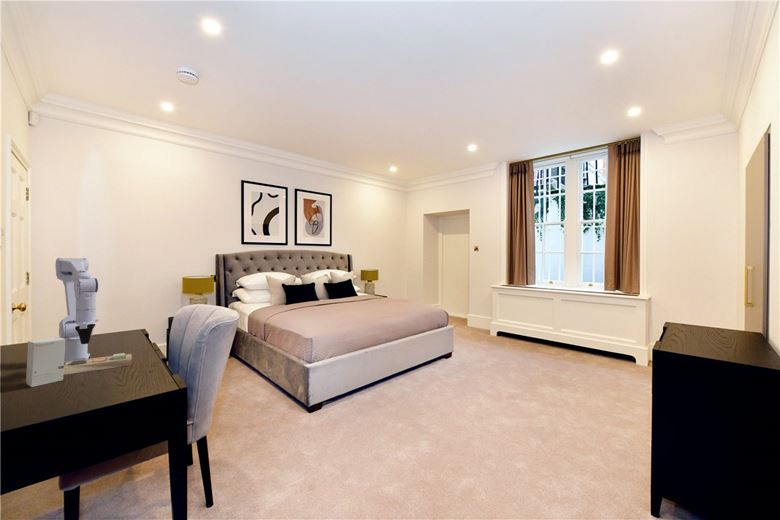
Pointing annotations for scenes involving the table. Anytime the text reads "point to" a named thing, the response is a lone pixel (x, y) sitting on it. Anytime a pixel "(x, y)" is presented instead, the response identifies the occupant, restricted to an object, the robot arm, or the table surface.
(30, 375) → the skincare box
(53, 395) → the table surface
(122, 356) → the key sage
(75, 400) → the table surface
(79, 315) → the robot arm
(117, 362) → the keypad
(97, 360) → the key terracotta
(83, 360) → the key charcoal
